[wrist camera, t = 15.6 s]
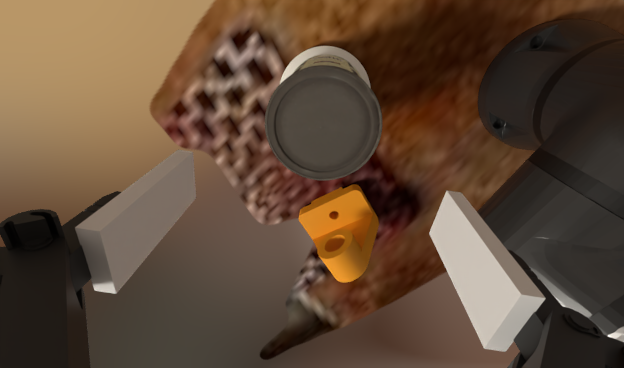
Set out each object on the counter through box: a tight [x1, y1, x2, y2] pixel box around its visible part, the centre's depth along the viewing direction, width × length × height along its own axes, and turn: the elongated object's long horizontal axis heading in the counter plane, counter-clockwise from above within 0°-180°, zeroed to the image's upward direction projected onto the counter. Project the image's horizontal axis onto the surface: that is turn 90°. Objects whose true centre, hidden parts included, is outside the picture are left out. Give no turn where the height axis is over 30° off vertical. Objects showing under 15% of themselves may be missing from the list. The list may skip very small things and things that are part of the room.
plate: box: [280, 46, 371, 88], centre depth 38 cm, size 12×12×1 cm
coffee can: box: [265, 54, 382, 180], centre depth 31 cm, size 10×10×14 cm
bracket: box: [299, 184, 379, 282], centre depth 42 cm, size 11×7×12 cm
